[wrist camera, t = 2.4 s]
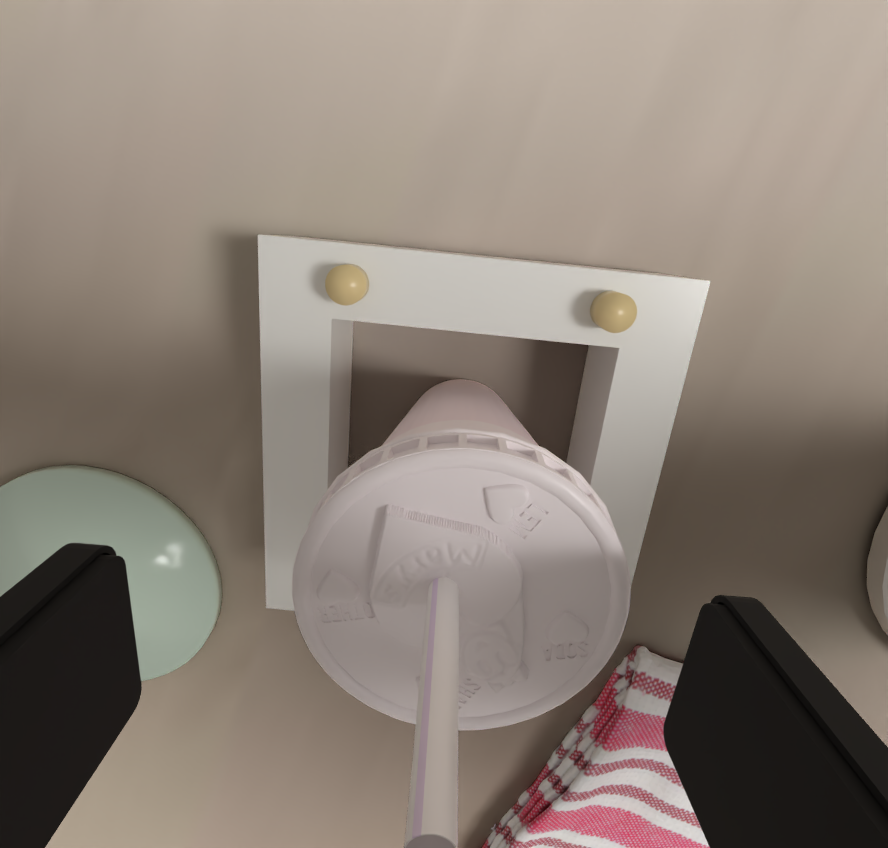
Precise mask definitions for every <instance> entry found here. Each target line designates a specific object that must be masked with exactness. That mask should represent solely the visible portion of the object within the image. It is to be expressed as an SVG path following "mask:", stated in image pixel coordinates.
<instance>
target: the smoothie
mask: <svg viewBox="0 0 888 848" xmlns="http://www.w3.org/2000/svg"><path fill="white" fill-rule="evenodd" d="M292 599H293V607H294V612H295V616H296V620H297V624H298V626H299V629H300V632H301V634H302V637H303V639H304V641H305V643H306V645H307V647H308V649H309V650H310V652H311V653H312V655H313V656H314V658H315V660H316V661H317V662H318V663H319V665H320V666H321V667H322V669H323V670H324V671H325V672H326V673H327V674H328V675H329V676H330V677H331V678H332V679H333V680H334V681H335V682H336V683H337V684H338V685H339V686H340V687H341V688H343V689H344V690H345V691H346V692H348V693H349V694H350V695H352V696H353V697H355V698H356V699H358V700H359V701H361V702H362V703H364V704H365V705H367V706H368V707H370V708H373V709H375V710H377V711H379V712H381V713H383V714H386V715H388V716H390V717H392V718H394V719H398V720H401V721H405V722H408V723H412V724H415V736H414V747H413V757H412V768H411V779H410V789H409V800H408V811H407V821H406V832H405V843H404V848H458V730H485V729H491V728H497V727H503V726H509V725H513V724H516V723H519V722H522V721H525V720H528V719H531V718H534V717H537V716H540V715H542V714H544V713H545V712H547V711H550V710H552V709H554V708H555V707H557V706H559V705H561V704H563V703H565V702H566V701H567V700H569V699H570V698H571V697H573V696H574V695H576V694H577V693H578V692H580V691H581V690H582V689H583V688H584V687H586V686H587V685H588V684H589V683H590V682H591V681H592V680H593V679H594V678H595V677H596V676H597V675H598V674H599V672H600V671H601V670H602V669H603V667H604V666H605V665H606V664H607V662H608V661H609V659H610V658H611V656H612V655H613V653H614V651H615V649H616V647H617V646H618V644H619V642H620V640H621V637H622V634H623V632H624V629H625V626H626V622H627V618H628V615H629V608H630V601H631V582H630V573H629V568H628V563H627V559H626V556H625V553H624V550H623V547H622V545H621V542H620V540H619V538H618V536H617V533H616V531H615V528H614V525H613V523H612V520H611V518H610V515H609V512H608V510H607V507H606V505H605V504H604V503H603V501H602V500H601V499H600V498H599V496H598V495H597V494H596V492H595V491H594V490H593V489H592V487H591V486H590V485H589V484H588V482H587V481H586V480H585V479H584V477H583V476H582V475H581V474H580V473H579V472H578V471H576V470H575V469H573V468H572V467H571V466H569V465H568V464H567V463H565V462H564V461H562V460H561V459H560V458H558V457H557V456H555V455H554V454H553V453H551V452H550V451H548V450H547V449H546V448H543V447H540V446H539V445H538V444H537V443H536V442H535V440H534V439H533V438H532V437H531V435H530V434H529V433H528V432H527V430H526V429H525V428H524V427H523V425H522V424H521V423H520V422H519V420H518V419H517V418H516V416H515V415H514V414H513V413H512V411H511V410H510V409H509V408H508V406H507V405H506V404H505V403H504V401H503V400H502V399H501V398H500V397H499V395H498V394H497V393H496V392H494V391H493V390H492V389H490V388H489V387H487V386H485V385H483V384H481V383H479V382H476V381H472V380H465V379H455V380H449V381H445V382H442V383H439V384H437V385H435V386H433V387H432V388H430V389H429V390H427V391H426V392H425V393H424V394H423V395H422V396H421V397H420V398H419V400H418V401H417V402H416V403H415V405H414V406H413V407H412V408H411V410H410V411H409V412H408V413H407V415H406V416H405V417H404V418H403V420H402V421H401V422H400V423H399V425H398V426H397V427H396V428H395V430H394V431H393V432H392V433H391V435H390V436H389V437H388V438H387V440H386V441H385V442H384V443H383V445H382V446H381V447H378V448H376V449H373V450H371V451H369V452H368V453H367V454H366V455H364V456H363V457H362V458H360V459H359V460H358V461H357V462H355V463H354V464H353V465H351V466H350V467H349V468H347V469H346V470H345V471H344V472H342V473H341V474H340V475H338V476H337V477H336V479H335V480H334V482H333V483H332V484H331V486H330V487H329V488H328V490H327V491H326V493H325V494H324V495H323V497H322V498H321V500H320V501H319V502H318V504H317V505H316V506H315V508H314V510H313V513H312V516H311V519H310V522H309V525H308V528H307V530H306V532H305V534H304V536H303V538H302V540H301V543H300V546H299V548H298V551H297V554H296V558H295V563H294V567H293V576H292Z"/></svg>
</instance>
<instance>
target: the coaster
mask: <svg viewBox="0 0 888 848" xmlns="http://www.w3.org/2000/svg"><path fill="white" fill-rule="evenodd" d="M68 543H84V544H97V545H108V546H111V547H112V548H113V549H114V550H115V552H116V555H117V556H121V557H123V559H124V560H125V564H126V570H127V578H128V586H129V593H130V601H131V608H132V616H133V624H134V631H135V639H136V647H137V654H138V662H139V670H140V677H141V681H144V680H150V679H153V678H156V677H160V676H163V675H165V674H167V673H170V672H172V671H174V670H176V669H178V668H179V667H181V666H182V665H184V664H185V663H187V662H188V661H189V660H190V659H191V658H192V657H194V656H195V655H196V653H197V652H198V651H199V650H200V649H201V647H202V646H203V645H204V643H205V642H206V640H207V638H208V637H209V635H210V634H211V632H212V630H213V628H214V627H215V625H216V622H217V619H218V617H219V614H220V609H221V603H222V584H221V577H220V572H219V569H218V565H217V562H216V559H215V557H214V555H213V553H212V550H211V548H210V546H209V545H208V543H207V541H206V540H205V538H204V536H203V535H202V533H201V532H200V531H199V529H198V528H197V527H196V526H195V524H194V523H193V522H192V521H191V520H190V519H189V518H188V517H187V516H186V515H185V514H184V512H183V511H182V510H181V509H179V508H178V507H177V506H176V505H175V504H173V503H172V502H171V501H170V500H169V499H167V498H166V497H164V496H163V495H161V494H160V493H158V492H157V491H155V490H154V489H152V488H150V487H149V486H147V485H145V484H143V483H141V482H139V481H137V480H135V479H132V478H130V477H127V476H125V475H122V474H120V473H116V472H113V471H109V470H105V469H102V468H95V467H89V466H78V465H63V466H51V467H46V468H42V469H37V470H34V471H32V472H29V473H26V474H24V475H21V476H19V477H17V478H16V479H14V480H12V481H10V482H8V483H6V484H5V485H3V486H1V487H0V596H2V595H3V594H4V593H5V592H7V591H8V590H9V589H10V588H12V587H13V586H14V585H15V584H17V583H18V582H19V581H20V580H22V579H23V578H24V577H25V576H27V575H28V574H29V573H30V572H32V571H33V570H34V569H35V568H36V567H38V566H39V565H40V564H41V563H43V562H44V561H45V560H46V559H48V558H49V557H50V556H51V555H53V554H54V553H55V552H56V551H58V550H59V549H60V548H61V547H63V546H64V545H66V544H68Z"/></svg>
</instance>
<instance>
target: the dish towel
mask: <svg viewBox="0 0 888 848" xmlns="http://www.w3.org/2000/svg"><path fill="white" fill-rule="evenodd" d="M682 666H683V663H679V662H676V661H672V660H669V659H666V658H664V657H661V656H659V655H657V654H654V653H652V652H649V650H648V649H647V648H646V647H643V646H639V645H637V646H635V647H634V649H633V650H632V652H631V653H630V654H628V655H627V656H626V657H625V658H624V659H623V661H622V663H621V664H620V665H619V666H617V667H616V668H615V670H614V672H613V674H612V675H611V677H610V679H609V680H608V682H607V683H606V685H605V687H604V688H603V690H602V692H601V693H600V695H599V697H598V698H597V700H596V701H595V702H594V703H593V704H592V705H591V706H590V707H589V708H588V709H587V710H586V711H585V713H584V714H583V716H582V717H581V719H580V720H579V721H578V723H576V724H575V725H574V727H573V728H572V729H571V730H570V731H569V733H568V734H567V735H566V737H565V738H564V739H563V741H562V743H561V744H560V745H559V747H558V748H557V749H555V750H554V752H553V753H552V755H551V758H550V759H549V760H548V761H547V763H546V765H545V767H544V768H543V770H542V771H541V772H540V774H539V775H538V777H537V778H536V780H535V781H534V782H533V784H532V785H531V786H530V788H528V789H526V790H525V791H524V792H523V793H522V794H521V795H520V797H519V798H518V801H517V803H516V804H515V805H514V806H513V807H512V808H511V809H510V810H509V811H508V812H507V813H506V814H505V815H504V816H503V818H502V819H501V820H500V823H499V824H498V826H497V827H496V824H495V825H494V827H492V828H491V829H492V830H493V832H492V833H491V834H490V836H489V837H488V838H487V840H486V842H485V843H484V845H483V846H482V848H710V847H709V845H708V842H707V840H706V838H705V836H704V833H703V831H702V829H701V826H700V824H699V822H698V820H697V817H696V815H695V813H694V810H693V808H692V806H691V804H690V801H689V799H688V797H687V794H686V792H685V790H684V788H683V785H682V783H681V781H680V778H679V776H678V774H677V772H676V769H675V767H674V765H673V762H672V760H671V758H670V756H669V753H668V751H667V748H666V745H665V741H664V734H663V727H664V722H665V719H666V716H667V712H668V709H669V706H670V703H671V700H672V697H673V694H674V691H675V688H676V685H677V681H678V678H679V675H680V672H681V669H682ZM495 827H496V828H495Z"/></svg>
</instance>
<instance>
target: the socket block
mask: <svg viewBox="0 0 888 848" xmlns="http://www.w3.org/2000/svg"><path fill="white" fill-rule="evenodd" d="M258 270H259V315H260V359H261V403H262V448H263V492H264V537H265V581H266V608H271V609H281V610H291V611H294V607H293V599H292V576H293V567H294V563H295V558H296V554H297V551H298V548H299V546H300V543H301V540H302V538H303V536H304V534H305V532H306V530H307V528H308V525H309V522H310V519H311V516H312V513H313V510H314V508H315V506H316V505H317V504H318V502H319V501H320V500H321V498H322V497H323V495H324V494H325V493H326V491H327V490H328V488H329V487H330V486H331V484H332V483H333V482H334V480H335V479H336V477H337V476H338V475H340V474H341V473H342V472H344V471H345V470H346V469H347V468H348V455H349V428H350V402H351V375H352V349H353V323H354V321H359V322H369V323H379V324H389V325H399V326H408V327H418V328H428V329H438V330H447V331H457V332H467V333H477V334H487V335H496V336H506V337H516V338H526V339H535V340H545V341H555V342H565V343H575V344H584V345H589V346H588V352H587V357H586V362H585V367H584V373H583V378H582V383H581V388H580V393H579V399H578V404H577V409H576V414H575V419H574V425H573V430H572V435H571V440H570V445H569V451H568V456H567V461H566V463H567V464H568V465H569V466H571V467H572V468H573V469H575V470H576V471H578V472H579V473H580V474H581V475H582V476H583V477H584V479H585V480H586V481H587V482H588V484H589V485H590V486H591V487H592V489H593V490H594V491H595V492H596V494H597V495H598V496H599V498H600V499H601V500H602V501H603V503H604V504H605V505H606V507H607V510H608V512H609V515H610V518H611V520H612V523H613V525H614V528H615V531H616V533H617V536H618V538H619V540H620V542H621V545H622V547H623V550H624V553H625V556H626V559H627V563H628V568H629V573H630V582H631V585H632V581H633V577H634V573H635V569H636V565H637V562H638V558H639V554H640V550H641V546H642V542H643V539H644V535H645V531H646V527H647V523H648V519H649V516H650V512H651V508H652V504H653V500H654V496H655V492H656V489H657V485H658V481H659V477H660V473H661V469H662V466H663V462H664V458H665V454H666V450H667V446H668V443H669V439H670V435H671V431H672V427H673V423H674V420H675V416H676V412H677V408H678V404H679V400H680V397H681V393H682V389H683V385H684V381H685V377H686V374H687V370H688V366H689V362H690V358H691V354H692V351H693V347H694V343H695V339H696V335H697V331H698V327H699V324H700V320H701V316H702V312H703V308H704V304H705V301H706V297H707V293H708V289H709V285H710V281H708V280H701V279H694V278H688V277H681V276H675V275H668V274H660V273H650V272H641V271H631V270H621V269H611V268H602V267H592V266H582V265H572V264H563V263H553V262H543V261H534V260H524V259H514V258H504V257H495V256H485V255H475V254H465V253H456V252H446V251H436V250H426V249H417V248H407V247H397V246H387V245H378V244H368V243H358V242H348V241H339V240H329V239H319V238H310V237H300V236H283V235H259V234H258Z"/></svg>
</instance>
